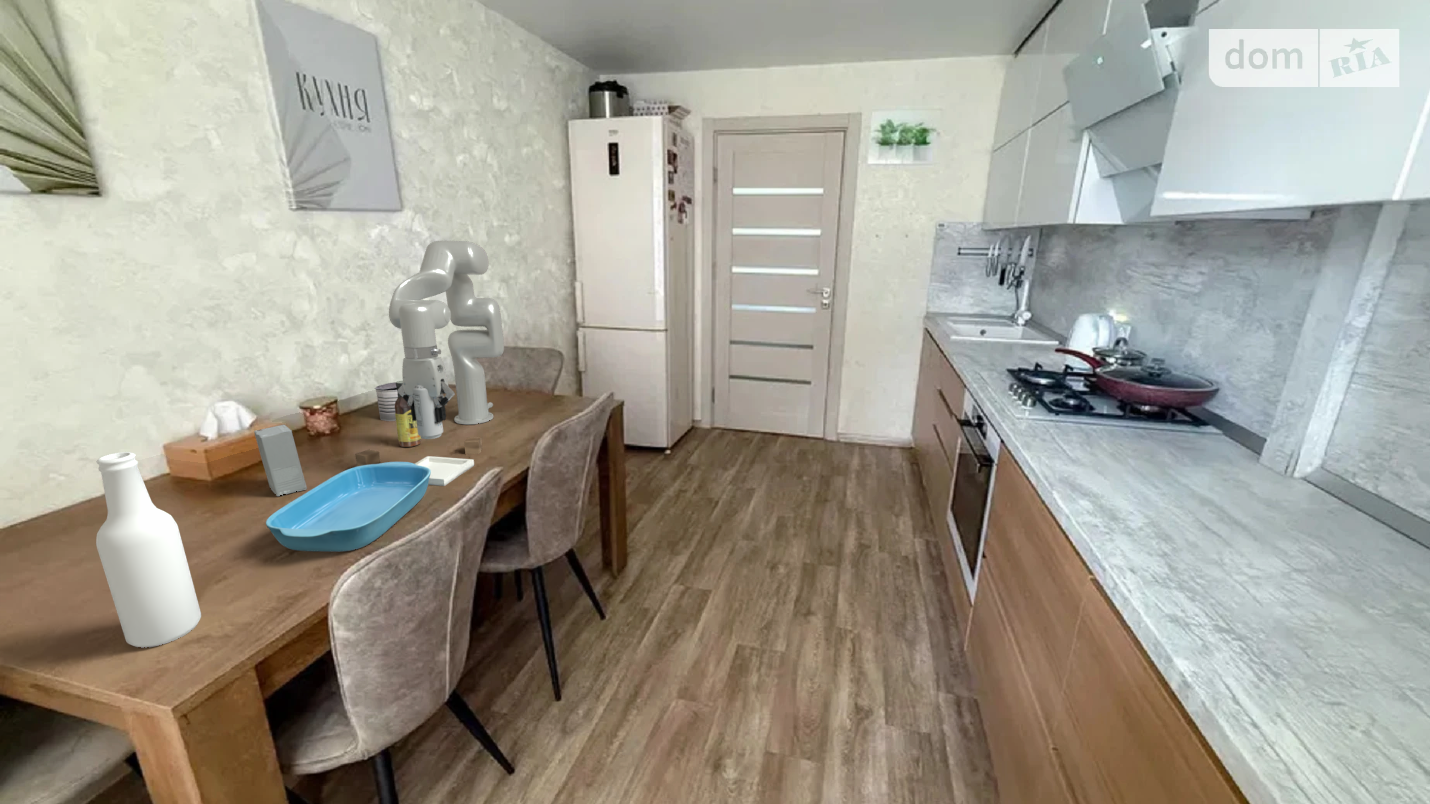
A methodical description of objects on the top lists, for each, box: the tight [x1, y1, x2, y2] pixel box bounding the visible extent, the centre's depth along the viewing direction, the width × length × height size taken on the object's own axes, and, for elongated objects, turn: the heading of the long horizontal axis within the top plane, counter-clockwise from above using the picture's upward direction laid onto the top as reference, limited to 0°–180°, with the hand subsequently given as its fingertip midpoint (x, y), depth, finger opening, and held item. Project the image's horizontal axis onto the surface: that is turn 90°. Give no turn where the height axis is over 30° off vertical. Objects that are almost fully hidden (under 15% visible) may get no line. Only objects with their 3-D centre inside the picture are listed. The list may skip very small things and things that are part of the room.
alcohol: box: [95, 451, 202, 649], centre depth 87 cm, size 9×9×30 cm
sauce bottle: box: [395, 380, 422, 448], centre depth 171 cm, size 6×6×20 cm
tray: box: [414, 455, 475, 487], centre depth 153 cm, size 14×14×2 cm
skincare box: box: [253, 424, 308, 497], centre depth 140 cm, size 8×7×16 cm
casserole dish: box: [265, 461, 431, 553], centre depth 127 cm, size 37×22×7 cm, turn 0°
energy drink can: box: [413, 383, 444, 440], centre depth 148 cm, size 6×6×15 cm
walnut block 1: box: [354, 448, 381, 467], centre depth 154 cm, size 4×4×5 cm
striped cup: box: [374, 381, 398, 422], centre depth 199 cm, size 11×11×12 cm
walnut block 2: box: [463, 436, 483, 455], centre depth 169 cm, size 4×4×4 cm
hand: (429, 419), depth 149 cm, fingers closed on energy drink can, 6 cm apart
